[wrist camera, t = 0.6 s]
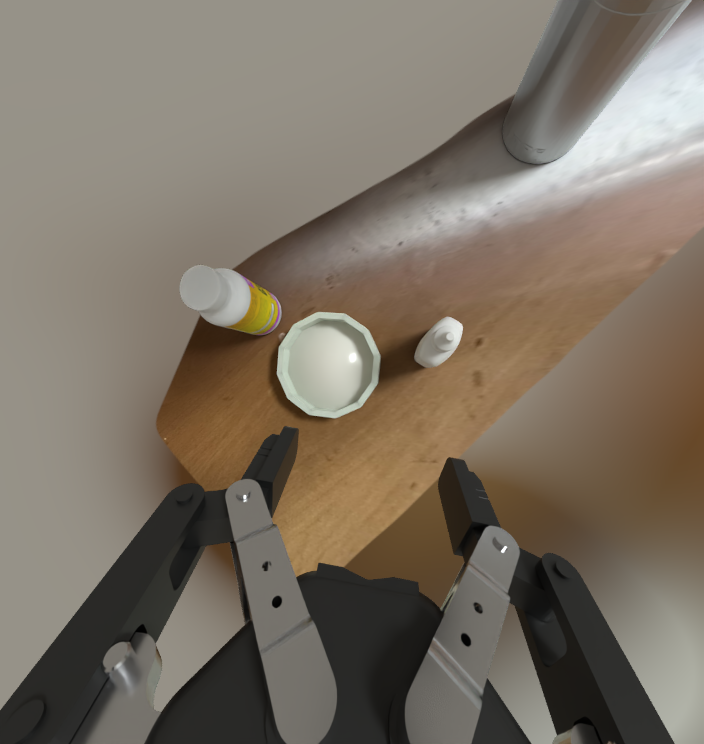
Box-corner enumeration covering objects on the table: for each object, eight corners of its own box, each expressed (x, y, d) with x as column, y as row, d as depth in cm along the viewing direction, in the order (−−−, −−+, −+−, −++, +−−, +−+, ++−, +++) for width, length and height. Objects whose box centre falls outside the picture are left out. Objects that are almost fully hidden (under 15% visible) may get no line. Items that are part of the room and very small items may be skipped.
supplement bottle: (289, 300, 39) (238, 267, 26) (273, 342, 39) (216, 329, 26) (250, 285, 40) (182, 246, 27) (235, 326, 40) (162, 307, 27)
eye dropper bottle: (405, 342, 36) (410, 330, 24) (443, 322, 35) (467, 299, 23) (420, 371, 36) (432, 372, 24) (458, 351, 35) (491, 343, 23)
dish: (319, 297, 38) (314, 292, 35) (400, 352, 36) (400, 351, 34) (267, 376, 39) (259, 377, 37) (342, 433, 38) (339, 437, 35)
